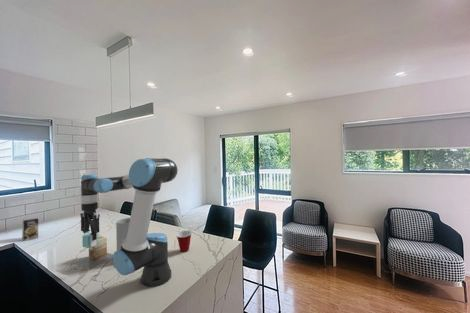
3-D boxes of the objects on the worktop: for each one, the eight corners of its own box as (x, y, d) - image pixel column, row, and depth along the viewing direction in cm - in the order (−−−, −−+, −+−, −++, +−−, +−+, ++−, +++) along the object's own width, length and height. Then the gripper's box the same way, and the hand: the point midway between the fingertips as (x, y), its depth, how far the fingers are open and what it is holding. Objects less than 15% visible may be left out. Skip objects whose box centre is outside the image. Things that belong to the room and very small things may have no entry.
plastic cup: (173, 251, 145) (172, 233, 146) (186, 246, 154) (185, 229, 154) (182, 255, 138) (181, 236, 139) (195, 250, 146) (195, 232, 147)
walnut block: (106, 256, 137) (106, 246, 137) (95, 260, 131) (95, 251, 131) (100, 254, 140) (99, 245, 140) (88, 258, 134) (88, 249, 134)
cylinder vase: (133, 254, 142) (132, 216, 143) (142, 259, 134) (142, 219, 135) (113, 261, 133) (112, 221, 133) (122, 267, 125) (121, 224, 125)
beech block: (106, 246, 137) (106, 237, 137) (95, 251, 131) (95, 241, 131) (99, 245, 140) (99, 236, 140) (88, 249, 134) (88, 239, 134)
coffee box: (23, 241, 173) (23, 221, 173) (22, 239, 177) (22, 220, 177) (38, 238, 180) (38, 218, 180) (37, 236, 184) (36, 217, 184)
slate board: (119, 258, 137) (119, 255, 137) (90, 271, 121) (90, 268, 121) (101, 253, 145) (101, 251, 145) (72, 265, 128) (72, 263, 128)
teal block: (97, 244, 118) (97, 233, 118) (88, 248, 113) (88, 236, 113) (92, 243, 120) (92, 232, 120) (82, 246, 115) (82, 235, 115)
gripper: (106, 202, 117) (107, 244, 116) (86, 200, 124) (87, 240, 124) (92, 204, 110) (93, 250, 109) (72, 202, 117) (73, 245, 117)
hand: (90, 244), depth 116 cm, fingers closed on teal block, 5 cm apart
